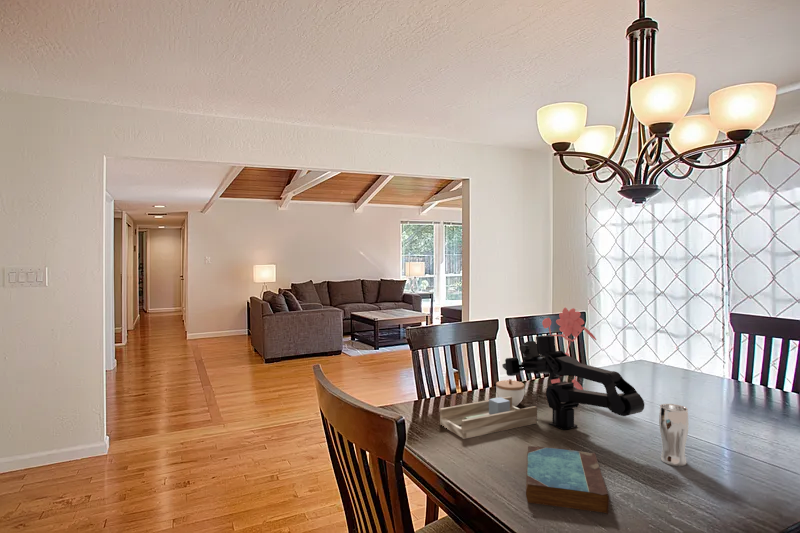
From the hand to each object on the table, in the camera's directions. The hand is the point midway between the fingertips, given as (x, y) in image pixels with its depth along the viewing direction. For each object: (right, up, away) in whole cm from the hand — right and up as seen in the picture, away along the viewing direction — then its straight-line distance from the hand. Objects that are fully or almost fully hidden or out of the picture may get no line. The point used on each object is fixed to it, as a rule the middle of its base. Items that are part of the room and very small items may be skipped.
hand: (512, 364), depth 179 cm
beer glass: (+33, -16, -50) cm, 61 cm away
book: (-2, -17, -63) cm, 65 cm away
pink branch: (+30, -15, +21) cm, 39 cm away
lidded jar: (0, -16, +2) cm, 16 cm away
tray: (-13, -16, -20) cm, 28 cm away
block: (-9, -13, -18) cm, 24 cm away
